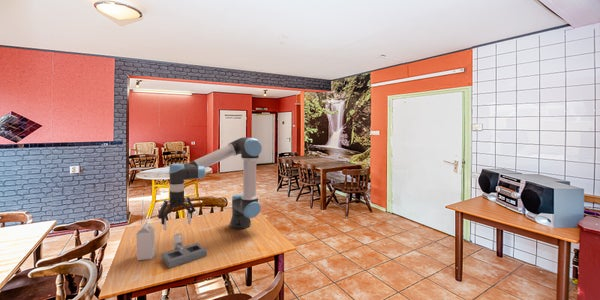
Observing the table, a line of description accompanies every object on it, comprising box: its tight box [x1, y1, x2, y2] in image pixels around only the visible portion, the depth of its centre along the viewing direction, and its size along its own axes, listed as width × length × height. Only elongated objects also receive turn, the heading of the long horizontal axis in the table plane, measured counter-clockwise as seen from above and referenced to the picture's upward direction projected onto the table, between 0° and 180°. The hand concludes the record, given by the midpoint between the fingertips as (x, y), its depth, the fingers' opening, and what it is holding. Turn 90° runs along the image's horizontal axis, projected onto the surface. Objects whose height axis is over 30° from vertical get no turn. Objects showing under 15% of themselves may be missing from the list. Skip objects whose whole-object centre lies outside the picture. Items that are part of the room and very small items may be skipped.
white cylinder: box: [173, 232, 184, 250], centre depth 155 cm, size 4×4×9 cm
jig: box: [161, 242, 208, 269], centre depth 146 cm, size 20×12×4 cm, turn 134°
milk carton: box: [135, 221, 156, 261], centre depth 145 cm, size 7×7×19 cm
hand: (177, 226), depth 154 cm, fingers open, 13 cm apart
